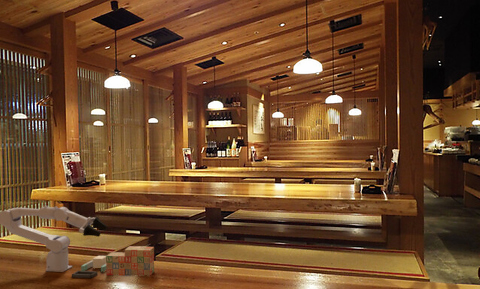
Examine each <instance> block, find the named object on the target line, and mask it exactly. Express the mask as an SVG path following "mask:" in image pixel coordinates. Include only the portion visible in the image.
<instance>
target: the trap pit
mask: <svg viewBox="0 0 480 289" xmlns="http://www.w3.org/2000/svg"><path fill="white" fill-rule="evenodd" d="M96 276H98V271H92V270H91V271H90V270H85V271H81V270H77V271H75V272H73V273H72V274H71V278H73V279H75V278H76V279H93V278H95V277H96Z"/></svg>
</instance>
